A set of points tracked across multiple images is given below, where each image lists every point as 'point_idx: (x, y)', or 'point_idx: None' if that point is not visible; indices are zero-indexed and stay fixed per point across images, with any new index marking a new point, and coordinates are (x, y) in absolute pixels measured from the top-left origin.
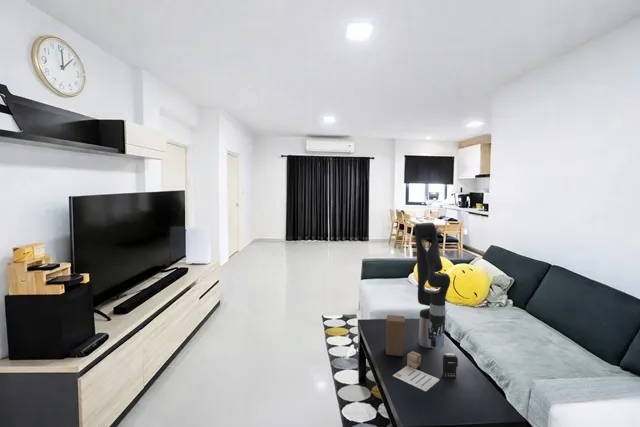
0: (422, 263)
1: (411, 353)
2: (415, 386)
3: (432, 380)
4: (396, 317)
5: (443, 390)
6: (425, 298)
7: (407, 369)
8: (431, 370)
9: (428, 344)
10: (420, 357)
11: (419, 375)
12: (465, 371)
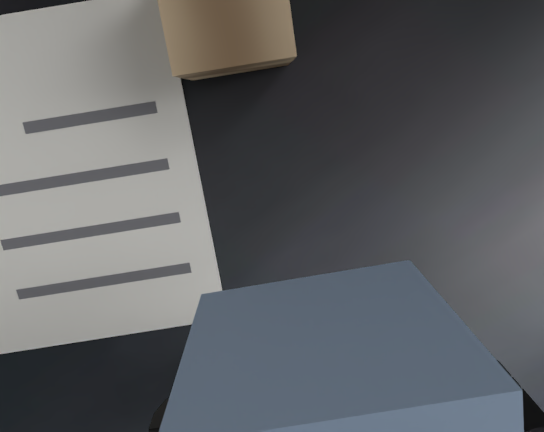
0: None
1: None
2: None
3: (162, 294)
4: None
5: (131, 409)
6: None
7: (102, 45)
8: (296, 188)
9: (197, 309)
10: (287, 59)
11: (124, 184)
12: (515, 355)
